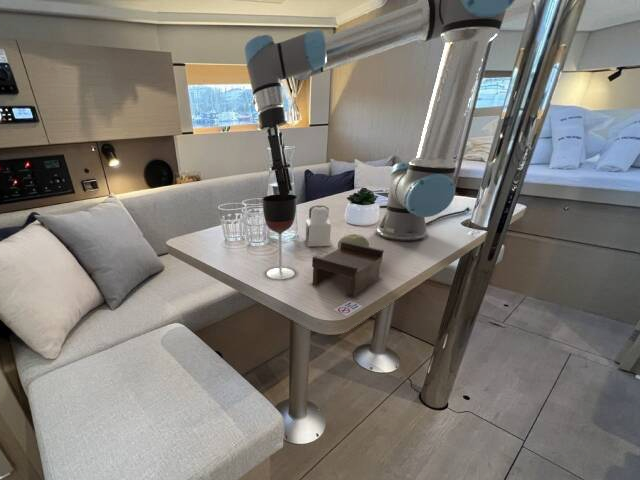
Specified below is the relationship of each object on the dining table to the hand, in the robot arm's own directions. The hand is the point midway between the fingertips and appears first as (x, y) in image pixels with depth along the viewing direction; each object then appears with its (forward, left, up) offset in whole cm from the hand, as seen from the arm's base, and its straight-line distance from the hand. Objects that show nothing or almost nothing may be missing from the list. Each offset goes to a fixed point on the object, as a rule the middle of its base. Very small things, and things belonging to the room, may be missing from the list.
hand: (286, 193), depth 91 cm
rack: (+7, +25, -18) cm, 32 cm away
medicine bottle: (-13, +3, -18) cm, 22 cm away
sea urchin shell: (-13, +16, -18) cm, 27 cm away
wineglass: (+13, +9, -18) cm, 24 cm away
